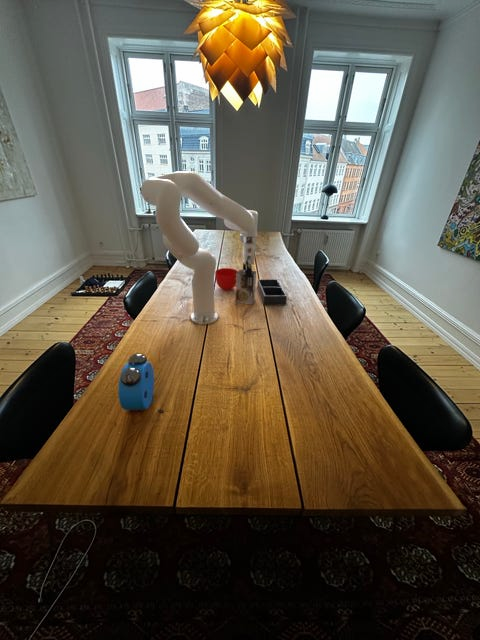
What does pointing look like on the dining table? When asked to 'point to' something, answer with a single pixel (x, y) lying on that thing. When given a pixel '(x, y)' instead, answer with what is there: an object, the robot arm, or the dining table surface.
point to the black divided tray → (271, 292)
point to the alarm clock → (136, 383)
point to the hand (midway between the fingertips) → (247, 273)
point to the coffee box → (245, 287)
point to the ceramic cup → (226, 278)
